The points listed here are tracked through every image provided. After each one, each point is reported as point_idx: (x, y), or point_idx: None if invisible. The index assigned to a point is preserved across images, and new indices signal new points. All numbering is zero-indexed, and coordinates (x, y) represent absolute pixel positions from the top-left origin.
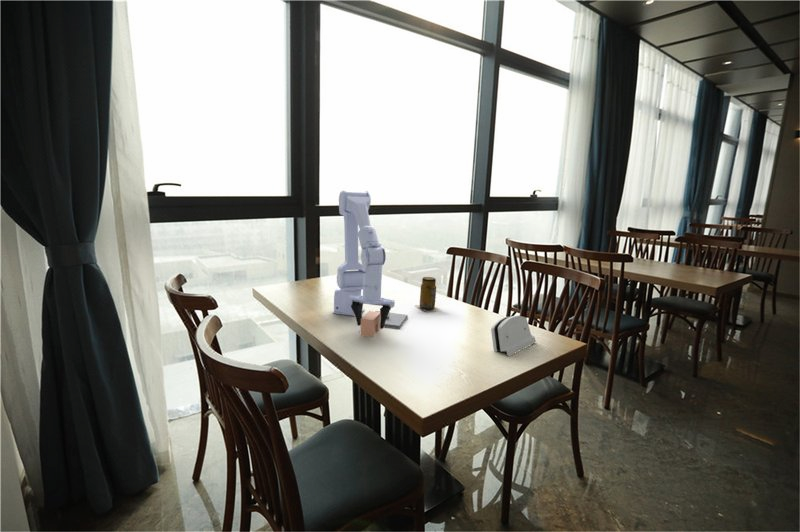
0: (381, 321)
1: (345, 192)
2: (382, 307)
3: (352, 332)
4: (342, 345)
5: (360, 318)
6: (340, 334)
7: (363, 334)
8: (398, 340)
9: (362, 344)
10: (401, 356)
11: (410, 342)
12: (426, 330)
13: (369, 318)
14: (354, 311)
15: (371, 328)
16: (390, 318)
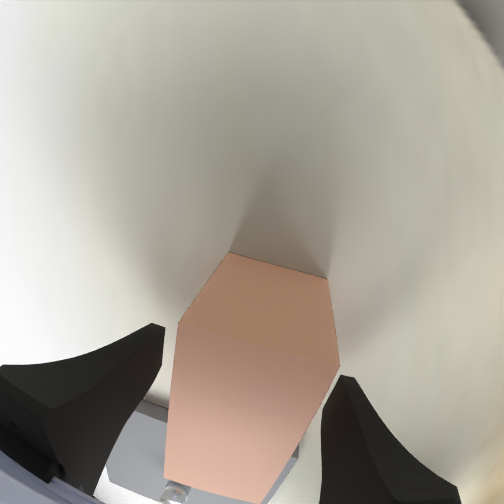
0: (124, 349)
1: None
2: (46, 452)
3: (385, 325)
4: (438, 72)
5: (334, 432)
6: (465, 280)
7: (302, 275)
8: (64, 211)
9: (293, 92)
10: (57, 3)
11: (17, 193)
12: (8, 346)
13: (232, 373)
14: (411, 462)
15: (223, 283)
16: (163, 471)
